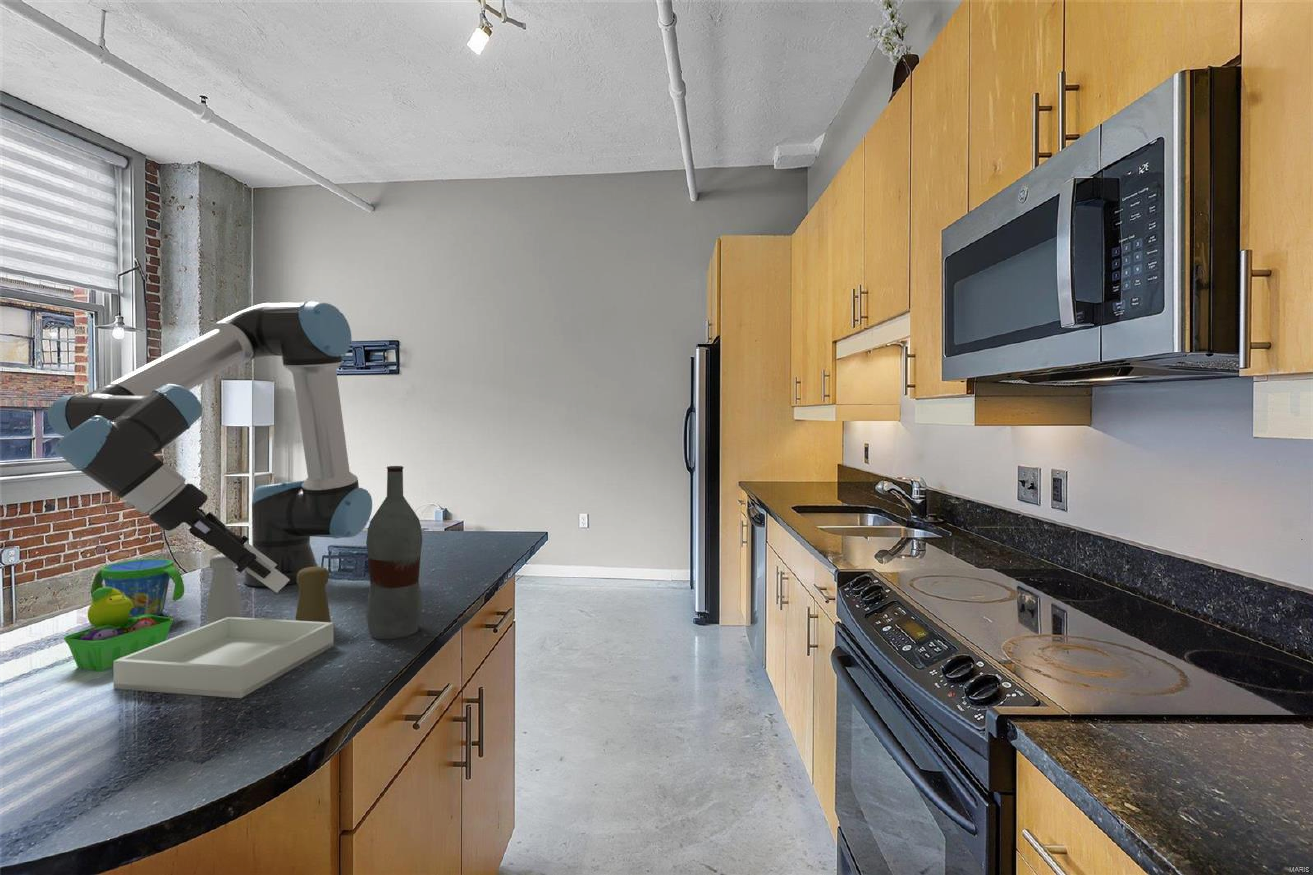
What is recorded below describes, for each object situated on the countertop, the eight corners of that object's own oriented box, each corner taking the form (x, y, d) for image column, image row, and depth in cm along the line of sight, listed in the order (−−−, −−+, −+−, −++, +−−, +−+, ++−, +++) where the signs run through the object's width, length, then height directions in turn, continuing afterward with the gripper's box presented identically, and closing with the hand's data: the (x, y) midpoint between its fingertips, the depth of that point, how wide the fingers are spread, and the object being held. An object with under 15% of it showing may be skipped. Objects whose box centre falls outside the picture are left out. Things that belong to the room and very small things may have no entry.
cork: (304, 635, 107) (304, 573, 107) (287, 628, 111) (287, 568, 110) (338, 625, 113) (338, 566, 112) (320, 619, 116) (320, 562, 115)
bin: (227, 639, 105) (227, 616, 104) (333, 646, 102) (333, 622, 102) (113, 688, 85) (113, 660, 85) (240, 698, 83) (240, 669, 83)
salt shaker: (250, 619, 115) (250, 551, 115) (226, 629, 109) (226, 558, 109) (222, 618, 116) (222, 550, 115) (196, 628, 110) (196, 557, 110)
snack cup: (199, 610, 121) (199, 559, 120) (152, 627, 110) (151, 572, 110) (126, 607, 122) (125, 557, 121) (72, 624, 111) (71, 569, 111)
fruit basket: (95, 676, 89) (94, 600, 89) (55, 668, 92) (54, 594, 92) (176, 649, 100) (176, 581, 100) (138, 642, 103) (138, 576, 102)
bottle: (365, 643, 104) (366, 468, 103) (366, 627, 112) (366, 465, 111) (424, 636, 108) (424, 467, 107) (420, 620, 116) (421, 464, 115)
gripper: (146, 507, 105) (249, 580, 115) (145, 527, 86) (269, 612, 96) (185, 475, 108) (282, 549, 118) (192, 488, 89) (307, 574, 99)
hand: (276, 577), depth 107 cm, fingers open, 13 cm apart
